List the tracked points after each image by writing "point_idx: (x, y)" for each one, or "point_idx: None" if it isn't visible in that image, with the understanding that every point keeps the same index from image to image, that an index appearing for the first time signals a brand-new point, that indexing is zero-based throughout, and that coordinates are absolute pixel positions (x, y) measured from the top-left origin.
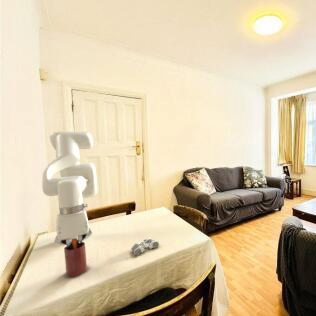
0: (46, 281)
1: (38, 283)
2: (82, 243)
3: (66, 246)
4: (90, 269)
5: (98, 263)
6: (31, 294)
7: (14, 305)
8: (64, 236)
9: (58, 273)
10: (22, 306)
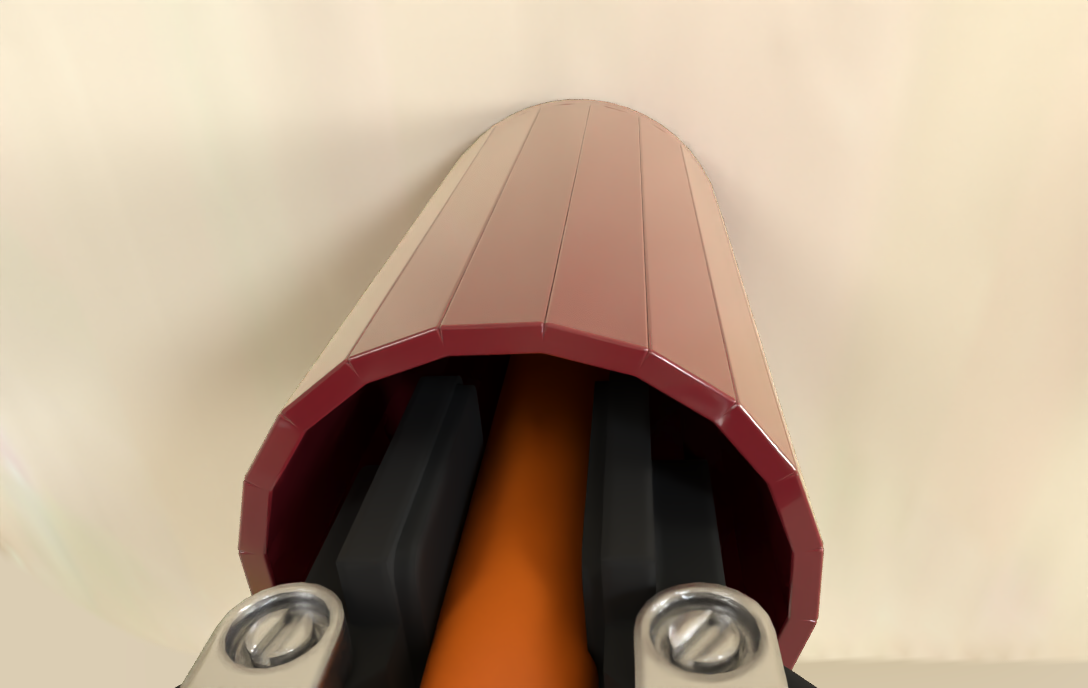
0: (196, 227)
1: (103, 209)
2: (756, 451)
3: (275, 458)
4: (766, 307)
5: (920, 189)
6: (120, 422)
7: (32, 510)
8: None
9: (309, 85)
10: (120, 572)
